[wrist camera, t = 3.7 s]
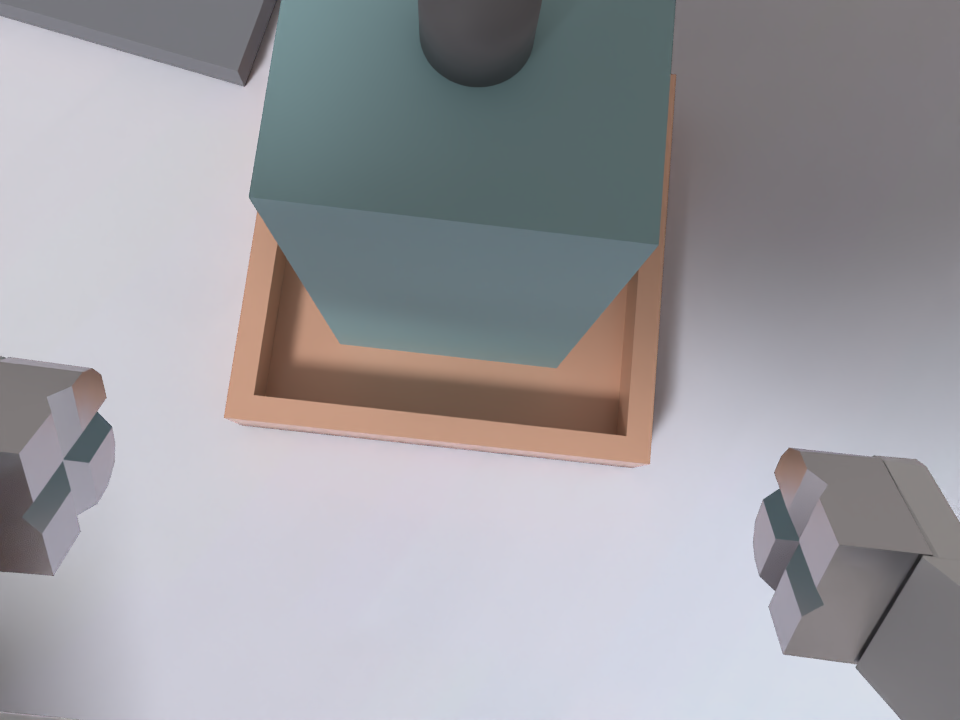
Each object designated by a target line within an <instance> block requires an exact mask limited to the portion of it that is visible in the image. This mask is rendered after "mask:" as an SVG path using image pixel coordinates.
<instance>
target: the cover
mask: <svg viewBox="0 0 960 720" xmlns="http://www.w3.org/2000/svg"><path fill="white" fill-rule="evenodd" d="M675 4H676V0H281V4H280V10H279V16H278V22H277V29H276V35H275V41H274V47H273V53H272V59H271V65H270V71H269V77H268V83H267V89H266V95H265V101H264V108H263V114H262V120H261V126H260V132H259V138H258V144H257V150H256V156H255V162H254V168H253V174H252V180H251V187H250V193H249V198H250V200H251V202H252V203H253V205H254V207H255V208H256V210H257V211H258V213H259V215H260V216H261V218H262V219H263V221H264V223H265V224H266V226H267V227H268V229H269V231H270V232H271V234H272V235H273V237H274V239H275V240H276V242H277V243H278V245H279V247H280V248H281V250H282V252H283V253H284V255H285V256H286V258H287V260H288V261H289V263H290V264H291V266H292V268H293V269H294V271H295V272H296V274H297V276H298V277H299V279H300V280H301V282H302V284H303V285H304V287H305V289H306V290H307V292H308V293H309V295H310V297H311V298H312V300H313V301H314V303H315V305H316V306H317V308H318V309H319V311H320V313H321V314H322V316H323V317H324V319H325V321H326V322H327V324H328V325H329V327H330V329H331V330H332V332H333V334H334V335H335V337H336V338H337V340H338V342H339V343H340V344H344V345H353V346H362V347H370V348H379V349H388V350H397V351H406V352H415V353H424V354H433V355H442V356H451V357H460V358H469V359H478V360H486V361H495V362H504V363H513V364H522V365H531V366H540V367H549V368H557V367H558V366H559V365H560V363H561V362H562V361H563V360H564V359H565V357H566V356H567V355H568V354H569V353H570V351H571V350H572V349H573V348H574V347H575V345H576V344H577V343H578V342H579V341H580V339H581V338H582V337H583V336H584V335H585V333H586V332H587V331H588V330H589V329H590V327H591V326H592V325H593V324H594V323H595V321H596V320H597V319H598V318H599V317H600V315H601V314H602V313H603V312H604V310H605V309H606V308H607V307H608V306H609V304H610V303H611V302H612V301H613V300H614V298H615V297H616V296H617V295H618V294H619V292H620V291H621V290H622V289H623V288H624V286H625V285H626V284H627V283H628V282H629V280H630V279H631V278H632V277H633V276H634V274H635V273H636V272H637V271H638V270H639V268H640V267H641V266H642V265H643V264H644V262H645V261H646V260H647V259H648V258H649V256H650V255H651V254H652V253H653V252H654V250H655V249H656V248H657V247H658V245H659V236H660V222H661V207H662V193H663V178H664V164H665V149H666V135H667V120H668V106H669V91H670V77H671V62H672V48H673V33H674V19H675Z"/></svg>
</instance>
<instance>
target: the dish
mask: <svg viewBox="0 0 960 720" xmlns="http://www.w3.org/2000/svg"><path fill="white" fill-rule="evenodd" d="M675 85H676V75H674V74H671V77H670V91H669V106H668V120H667V135H666V149H665V164H664V178H663V193H662V207H661V222H660V236H659V245H658V247H657V248H656V249H655V250H654V252H653V253H652V254H651V255H650V256H649V258H648V259H647V260H646V261H645V262H644V264H643V265H642V266H641V267H640V268H639V270H638V271H637V272H636V273H635V274H634V276H633V277H632V278H631V279H630V280H629V282H628V283H627V284H626V285H625V286H624V288H623V289H622V290H621V291H620V292H619V294H618V295H617V296H616V297H615V298H614V300H613V301H612V302H611V303H610V304H609V306H608V307H607V308H606V309H605V310H604V312H603V313H602V314H601V315H600V317H599V318H598V319H597V320H596V321H595V323H594V324H593V325H592V326H591V327H590V329H589V330H588V331H587V332H586V333H585V335H584V336H583V337H582V338H581V339H580V341H579V342H578V343H577V344H576V345H575V347H574V348H573V349H572V350H571V351H570V353H569V354H568V355H567V356H566V357H565V359H564V360H563V361H562V362H561V363H560V365H559V366H558V367H557V368H549V367H540V366H531V365H522V364H513V363H504V362H495V361H486V360H478V359H469V358H460V357H451V356H442V355H433V354H424V353H415V352H406V351H397V350H388V349H379V348H370V347H362V346H353V345H344V344H340V343H339V342H338V340H337V338H336V337H335V335H334V334H333V332H332V330H331V329H330V327H329V325H328V324H327V322H326V321H325V319H324V317H323V316H322V314H321V313H320V311H319V309H318V308H317V306H316V305H315V303H314V301H313V300H312V298H311V297H310V295H309V293H308V292H307V290H306V289H305V287H304V285H303V284H302V282H301V280H300V279H299V277H298V276H297V274H296V272H295V271H294V269H293V268H292V266H291V264H290V263H289V261H288V260H287V258H286V256H285V255H284V253H283V252H282V250H281V248H280V247H279V245H278V243H277V242H276V240H275V239H274V237H273V235H272V234H271V232H270V231H269V229H268V227H267V226H266V224H265V223H264V221H263V219H262V218H261V216H260V215H259V213H258V211H257V216H256V223H255V229H254V235H253V241H252V247H251V253H250V260H249V266H248V272H247V278H246V284H245V290H244V297H243V303H242V309H241V315H240V321H239V327H238V334H237V340H236V346H235V352H234V358H233V364H232V371H231V377H230V383H229V389H228V395H227V401H226V408H225V414H224V418H226V419H228V420H231V421H233V422H235V423H238V424H240V425H244V426H253V427H262V428H272V429H281V430H290V431H299V432H308V433H317V434H327V435H336V436H345V437H354V438H363V439H372V440H382V441H391V442H400V443H409V444H418V445H427V446H437V447H446V448H455V449H464V450H473V451H482V452H492V453H501V454H510V455H519V456H528V457H537V458H547V459H556V460H565V461H574V462H583V463H593V464H602V465H611V466H620V467H629V468H634V467H639V466H644V465H649V464H650V454H651V440H652V425H653V410H654V395H655V381H656V366H657V351H658V336H659V321H660V307H661V292H662V277H663V262H664V248H665V233H666V218H667V203H668V188H669V174H670V159H671V144H672V129H673V115H674V100H675Z"/></svg>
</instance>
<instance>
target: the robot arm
mask: <svg viewBox="0 0 960 720" xmlns="http://www.w3.org/2000/svg"><path fill="white" fill-rule="evenodd" d="M106 398H107V397H106V393H105V389H104V385H103V381H102V376H101V374H99V373H98V372H97V371H95V370H94V369H92V368H86V367H79V366H72V365H64V364H57V363H49V362H42V361H35V360H27V359H20V358H12V357H8V358H5V357H2V356H0V571H2V572H15V573H27V574H39V575H52V576H54V574H55V573H56V571H57V569H58V568H59V566H60V564H61V563H62V561H63V560H64V558H65V556H66V555H67V553H68V551H69V550H70V548H71V547H72V545H73V543H74V542H75V540H76V538H77V537H78V535H79V533H80V532H81V531H80V526H79V522H78V518H77V515H78V514H80V513H82V512H84V511H85V510H87V509H89V508H91V507H92V506H94V505H96V504H98V502H99V500H100V499H101V497H102V495H103V493H104V492H105V490H106V488H107V486H108V484H109V480H110V477H111V473H112V470H113V466H114V462H115V440H114V434H113V429H112V426H111V425H110V424H109V423H108V422H107V421H106V420H105V419H104V418H103V417H102V416H101V415H100V414H99V413H98V412H97V411H98V409H99V408H100V406H101V405H102V403H103V402H104V401H105V399H106ZM774 473H775V476H776V479H777V482H778V485H779V488H780V489H778V490H777V491H775V492H774V493H772V494H771V495H769V496H768V497H766V498H765V499H763V501H762V503H761V506H760V509H759V512H758V514H757V517H756V520H755V527H754V537H753V548H754V558H755V562H756V566H757V569H758V573H759V576H760V577H761V578H762V579H763V580H764V581H765V582H766V583H767V584H768V585H769V586H770V587H771V588H772V589H773V590H775V593H774V595H773V598H772V600H771V602H770V604H769V606H768V607H769V610H770V614H771V617H772V620H773V623H774V627H775V630H776V633H777V636H778V640H779V643H780V646H781V650H782V653H783V654H784V655H792V656H799V657H806V658H814V659H821V660H829V661H836V662H843V663H851V664H857V666H856V667H855V668H856V669H857V670H858V671H859V672H860V673H861V675H862V676H863V677H864V678H865V679H866V680H867V681H868V683H869V684H870V685H871V686H872V687H873V688H874V689H875V690H876V692H877V693H878V694H879V695H880V696H881V697H882V698H883V700H884V701H885V702H886V703H887V704H888V705H889V706H890V708H891V709H892V710H893V711H894V712H895V713H896V714H897V715H898V717H899V718H900V719H901V720H960V522H959V520H958V519H957V517H956V515H955V514H954V512H953V510H952V509H951V507H950V505H949V504H948V502H947V500H946V499H945V497H944V495H943V494H942V492H941V490H940V489H939V487H938V485H937V484H936V482H935V480H934V479H933V477H932V475H931V474H930V472H929V470H928V469H927V467H926V466H925V465H924V464H922V463H921V462H919V461H918V460H917V459H908V458H896V457H885V456H872V457H870V456H862V455H853V454H843V453H834V452H825V451H816V450H806V449H797V448H788V450H787V451H786V452H785V453H784V454H783V455H782V456H781V458H780V460H779V463H778V465H777V467H776V470H775V472H774ZM0 720H79V719H69V718H60V717H50V716H41V715H31V714H21V713H12V712H2V711H0Z"/></svg>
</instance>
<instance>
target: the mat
mask: <svg viewBox="0 0 960 720" xmlns="http://www.w3.org/2000/svg"><path fill="white" fill-rule="evenodd" d="M275 3H276V0H0V16H3V17H7V18H10V19H14V20H17V21H21V22H24V23H27V24H31V25H34V26H38V27H41V28H45V29H48V30H52V31H55V32H59V33H62V34H65V35H69V36H72V37H76V38H79V39H83V40H86V41H90V42H93V43H96V44H100V45H103V46H107V47H110V48H114V49H117V50H121V51H124V52H128V53H131V54H134V55H138V56H141V57H145V58H148V59H152V60H155V61H159V62H162V63H165V64H169V65H172V66H176V67H179V68H183V69H186V70H190V71H193V72H197V73H200V74H203V75H207V76H210V77H214V78H217V79H221V80H224V81H228V82H231V83H234V84H238V85H241V86H245V84H246V81H247V78H248V76H249V73H250V70H251V68H252V65H253V62H254V60H255V57H256V54H257V52H258V49H259V46H260V43H261V41H262V38H263V35H264V33H265V30H266V27H267V25H268V22H269V19H270V16H271V14H272V11H273V8H274V6H275Z"/></svg>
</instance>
